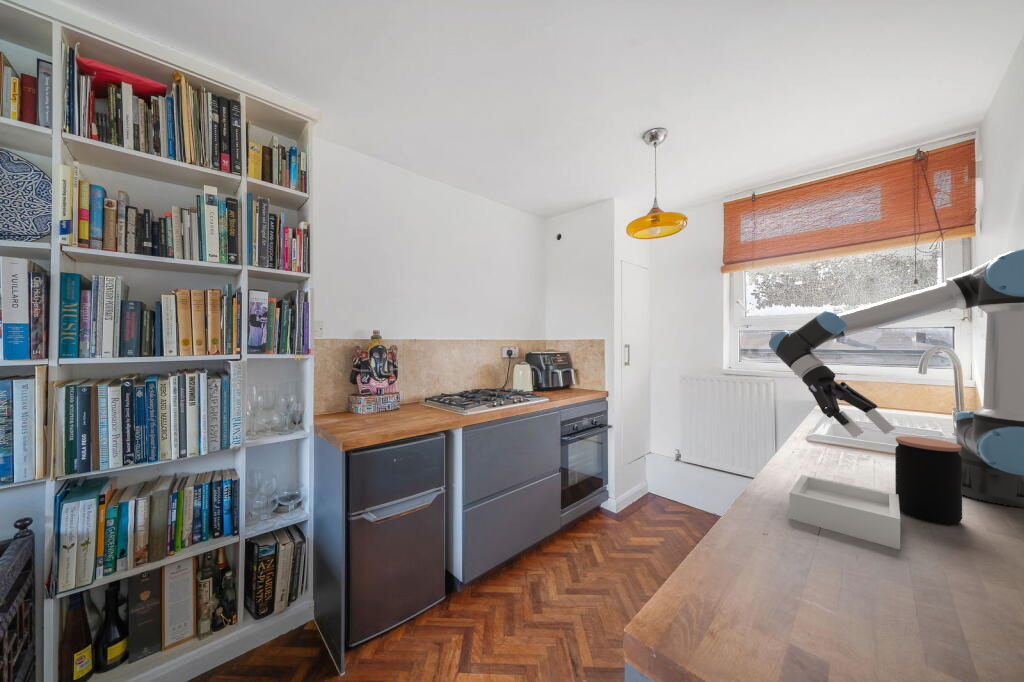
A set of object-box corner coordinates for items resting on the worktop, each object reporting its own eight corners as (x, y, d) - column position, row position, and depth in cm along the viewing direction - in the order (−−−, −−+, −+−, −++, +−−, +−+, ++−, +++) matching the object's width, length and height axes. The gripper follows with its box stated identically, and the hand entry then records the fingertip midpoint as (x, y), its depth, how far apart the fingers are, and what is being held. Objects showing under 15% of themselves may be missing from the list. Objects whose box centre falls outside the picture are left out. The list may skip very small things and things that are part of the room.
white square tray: (898, 522, 86) (898, 494, 86) (900, 551, 74) (900, 519, 74) (801, 498, 99) (801, 474, 99) (789, 520, 87) (789, 492, 87)
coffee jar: (977, 529, 82) (977, 449, 83) (920, 524, 85) (920, 446, 85) (933, 508, 93) (933, 437, 93) (883, 504, 95) (883, 435, 95)
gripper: (830, 379, 119) (890, 436, 105) (775, 381, 111) (832, 443, 97) (849, 364, 114) (915, 422, 100) (794, 364, 106) (857, 428, 92)
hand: (875, 432), depth 98 cm, fingers open, 13 cm apart
